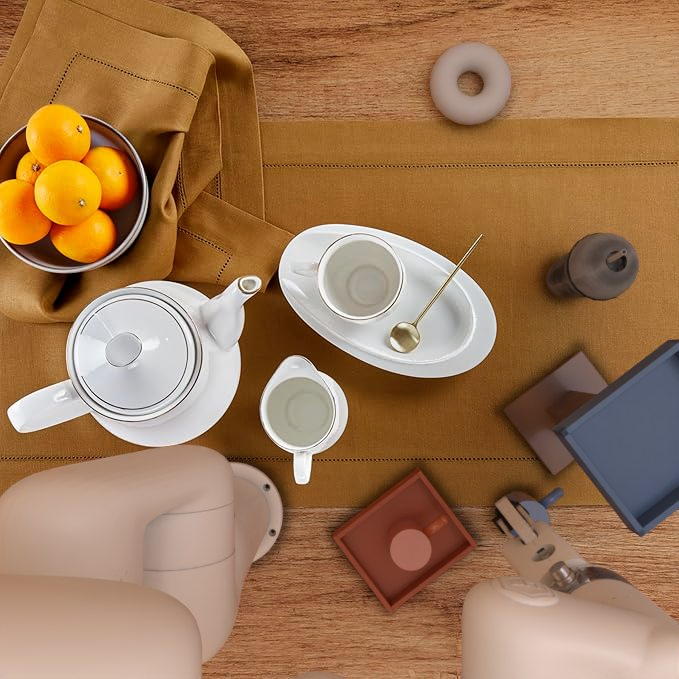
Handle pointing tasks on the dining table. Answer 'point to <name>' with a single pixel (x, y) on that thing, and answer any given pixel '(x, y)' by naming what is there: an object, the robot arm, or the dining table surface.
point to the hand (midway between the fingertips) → (535, 551)
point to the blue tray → (632, 440)
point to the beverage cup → (595, 268)
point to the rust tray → (372, 547)
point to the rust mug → (412, 542)
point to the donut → (474, 60)
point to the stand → (554, 408)
